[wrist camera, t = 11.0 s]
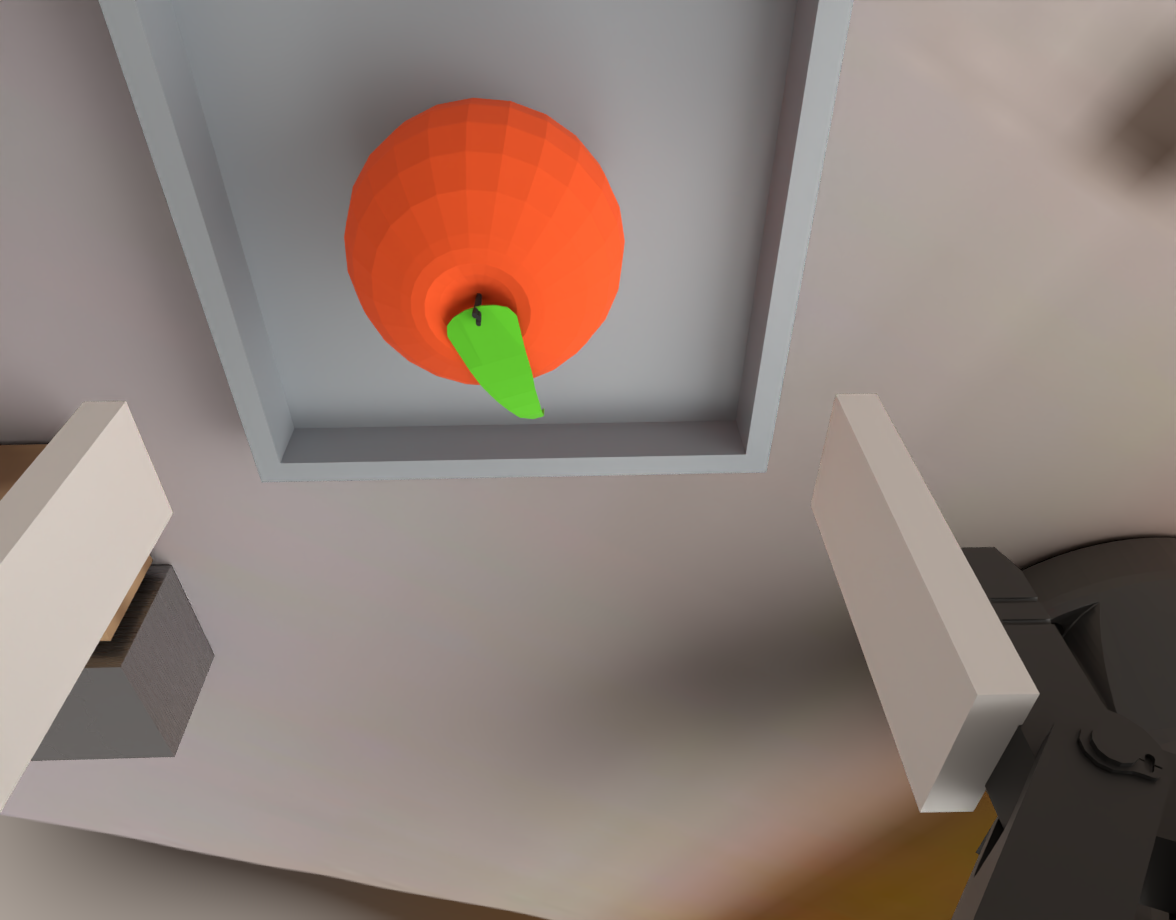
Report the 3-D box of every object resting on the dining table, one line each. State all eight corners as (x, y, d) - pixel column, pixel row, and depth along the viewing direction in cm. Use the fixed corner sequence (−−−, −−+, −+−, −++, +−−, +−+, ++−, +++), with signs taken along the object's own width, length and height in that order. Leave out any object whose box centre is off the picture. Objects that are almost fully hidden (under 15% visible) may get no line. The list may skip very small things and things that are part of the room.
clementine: (652, 297, 25) (679, 437, 20) (446, 356, 26) (418, 504, 21) (573, 25, 20) (580, 111, 15) (325, 113, 21) (246, 223, 16)
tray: (848, -161, 19) (882, -156, 17) (752, 428, 29) (766, 472, 28) (99, -161, 18) (45, -156, 16) (281, 436, 29) (261, 482, 27)
